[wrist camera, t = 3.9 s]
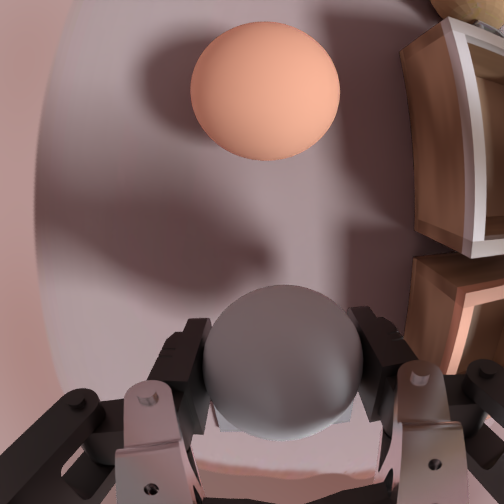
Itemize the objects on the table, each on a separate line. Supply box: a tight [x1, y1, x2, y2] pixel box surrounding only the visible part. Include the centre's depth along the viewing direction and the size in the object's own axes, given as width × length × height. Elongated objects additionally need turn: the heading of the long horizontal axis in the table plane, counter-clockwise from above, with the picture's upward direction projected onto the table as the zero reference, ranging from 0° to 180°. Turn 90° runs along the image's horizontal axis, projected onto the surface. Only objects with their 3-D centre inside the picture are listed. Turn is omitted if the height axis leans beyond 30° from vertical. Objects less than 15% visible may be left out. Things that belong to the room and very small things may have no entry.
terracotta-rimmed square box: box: [403, 252, 504, 419], centre depth 12 cm, size 9×9×5 cm
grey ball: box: [202, 285, 364, 441], centre depth 9 cm, size 5×5×5 cm
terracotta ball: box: [190, 22, 340, 161], centre depth 9 cm, size 5×5×5 cm
